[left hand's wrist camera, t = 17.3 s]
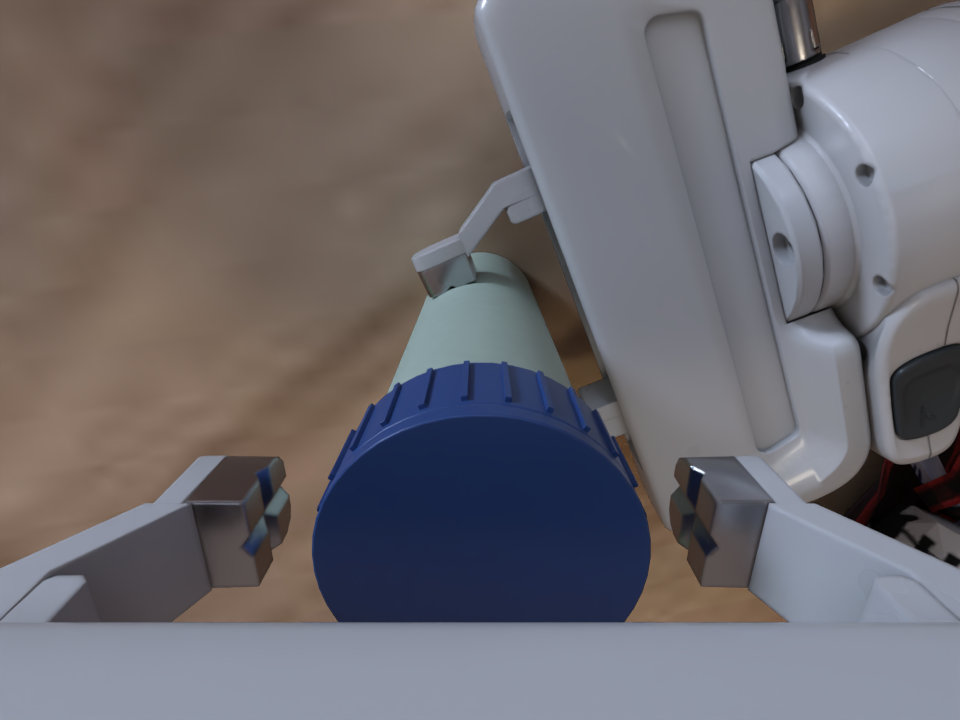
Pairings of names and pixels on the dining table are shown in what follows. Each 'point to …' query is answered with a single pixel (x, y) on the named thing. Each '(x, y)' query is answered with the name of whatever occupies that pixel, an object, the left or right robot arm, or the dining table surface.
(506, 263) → the pale green cylinder
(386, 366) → the dining table surface
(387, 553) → the lid
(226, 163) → the dining table surface
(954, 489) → the toy
